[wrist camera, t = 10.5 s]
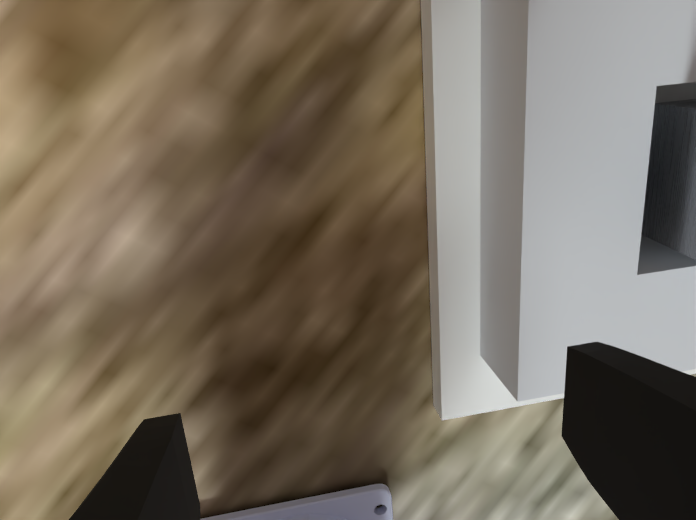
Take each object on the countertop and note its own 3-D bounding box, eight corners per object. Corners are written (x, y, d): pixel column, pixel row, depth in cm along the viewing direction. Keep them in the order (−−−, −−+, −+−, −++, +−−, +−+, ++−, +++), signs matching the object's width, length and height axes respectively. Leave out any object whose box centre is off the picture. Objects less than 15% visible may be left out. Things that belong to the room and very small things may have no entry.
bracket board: (792, 340, 25) (887, 391, 22) (433, 405, 23) (472, 474, 19) (898, -158, 19) (1060, -206, 15) (416, -138, 17) (470, -188, 13)
